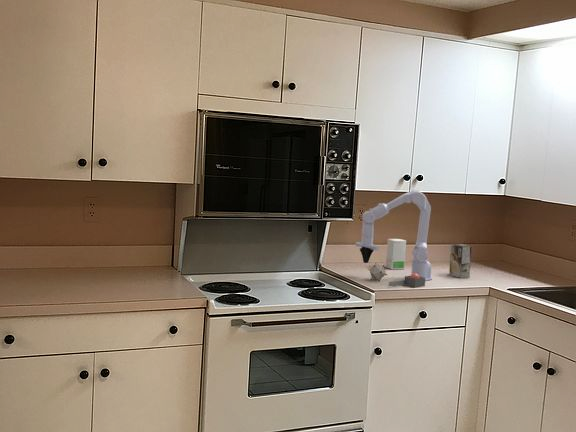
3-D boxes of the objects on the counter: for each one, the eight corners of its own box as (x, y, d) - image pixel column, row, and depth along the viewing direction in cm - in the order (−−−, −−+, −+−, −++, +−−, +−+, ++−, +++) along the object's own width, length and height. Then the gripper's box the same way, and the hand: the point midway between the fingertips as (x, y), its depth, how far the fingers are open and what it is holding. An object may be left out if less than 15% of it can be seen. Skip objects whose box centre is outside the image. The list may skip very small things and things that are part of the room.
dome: (414, 282, 312) (415, 271, 311) (422, 284, 308) (422, 273, 307) (407, 283, 309) (407, 272, 308) (414, 285, 305) (415, 274, 304)
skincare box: (391, 269, 343) (393, 240, 341) (385, 267, 349) (386, 238, 347) (405, 269, 346) (406, 240, 344) (398, 266, 352) (400, 238, 350)
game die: (375, 288, 315) (369, 273, 310) (369, 278, 323) (363, 264, 317) (392, 280, 315) (385, 265, 310) (385, 270, 323) (379, 255, 317)
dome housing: (414, 283, 313) (414, 274, 313) (424, 286, 308) (425, 277, 307) (404, 284, 309) (404, 276, 309) (414, 287, 304) (415, 279, 303)
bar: (402, 284, 309) (402, 279, 309) (404, 284, 308) (404, 279, 308) (388, 286, 304) (389, 281, 304) (390, 286, 303) (391, 281, 303)
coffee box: (470, 277, 332) (472, 246, 330) (460, 278, 329) (462, 246, 327) (457, 273, 340) (460, 243, 338) (448, 274, 337) (450, 243, 335)
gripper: (351, 233, 324) (350, 260, 326) (371, 238, 313) (370, 265, 315) (362, 233, 329) (360, 259, 330) (382, 237, 317) (380, 264, 319)
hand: (365, 262), depth 323 cm, fingers closed
